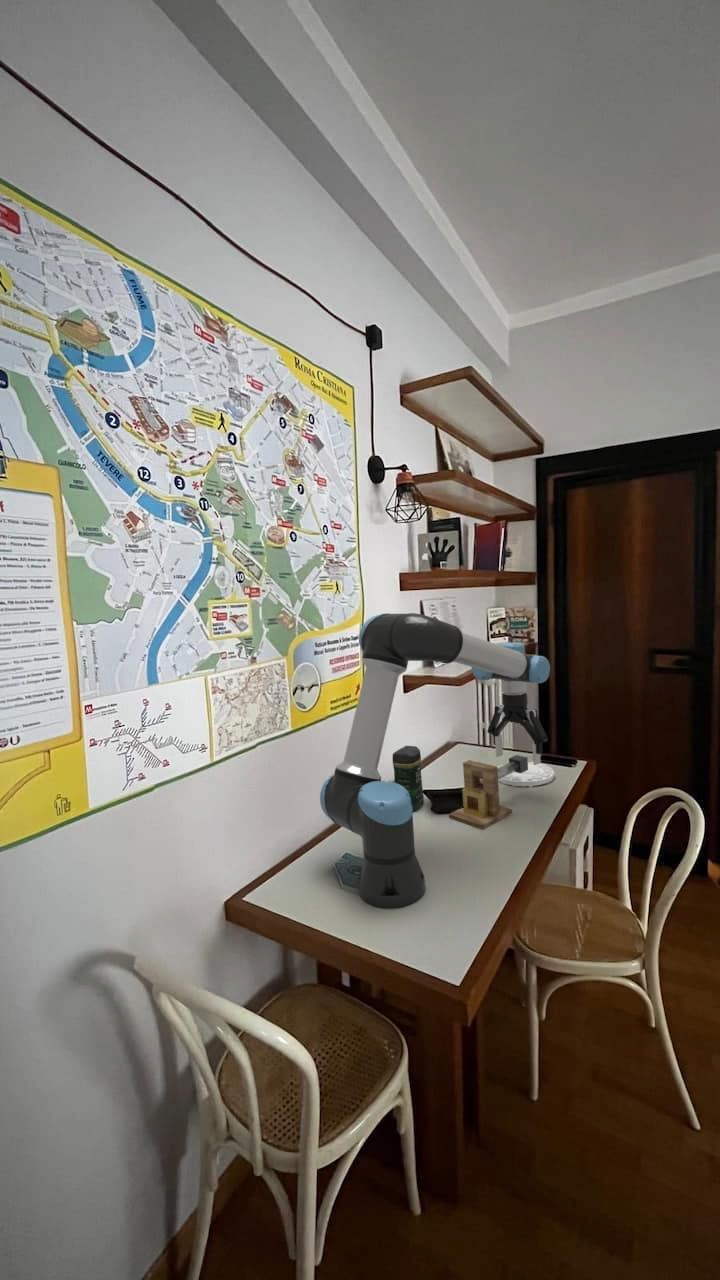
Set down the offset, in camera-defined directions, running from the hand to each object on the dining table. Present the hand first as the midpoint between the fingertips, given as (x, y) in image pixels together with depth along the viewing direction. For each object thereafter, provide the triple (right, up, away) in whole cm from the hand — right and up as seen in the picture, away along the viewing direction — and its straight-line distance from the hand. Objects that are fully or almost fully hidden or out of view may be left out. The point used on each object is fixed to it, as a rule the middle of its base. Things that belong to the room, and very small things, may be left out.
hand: (517, 759), depth 168 cm
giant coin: (+7, -10, +17) cm, 21 cm away
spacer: (-16, -9, -13) cm, 23 cm away
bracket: (-13, -14, -11) cm, 22 cm away
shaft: (-6, -4, -5) cm, 9 cm away
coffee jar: (-34, -15, 0) cm, 37 cm away
